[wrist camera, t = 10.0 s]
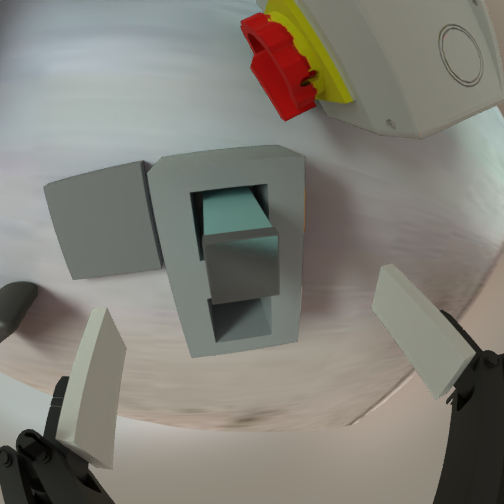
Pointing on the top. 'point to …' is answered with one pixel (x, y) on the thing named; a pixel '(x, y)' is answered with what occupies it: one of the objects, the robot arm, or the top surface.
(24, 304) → the dark grey curved block
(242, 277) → the plug
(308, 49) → the electrical switch box
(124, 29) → the top surface
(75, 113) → the top surface
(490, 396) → the robot arm
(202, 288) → the junction block
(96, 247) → the block
